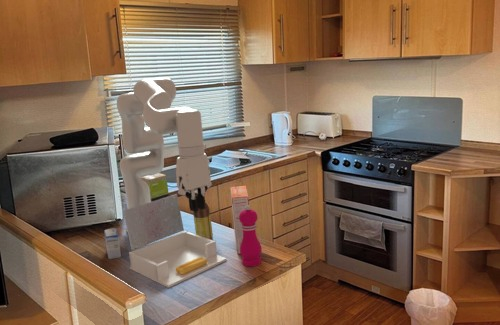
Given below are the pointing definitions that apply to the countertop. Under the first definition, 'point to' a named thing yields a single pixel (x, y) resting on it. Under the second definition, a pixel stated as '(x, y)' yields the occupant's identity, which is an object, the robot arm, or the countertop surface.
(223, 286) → the countertop surface
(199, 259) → the golden yellow ridged bar
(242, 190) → the cracker box
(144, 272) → the white shallow open box
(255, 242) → the pepper mill
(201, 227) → the sauce bottle
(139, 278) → the countertop surface
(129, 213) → the cover
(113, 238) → the medicine box
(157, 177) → the tea box
